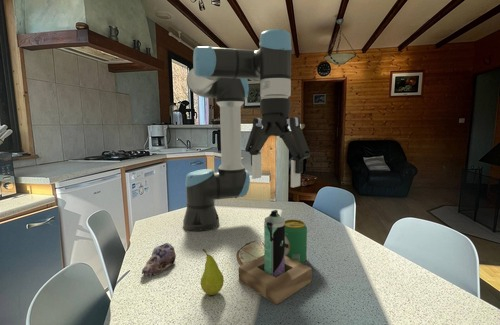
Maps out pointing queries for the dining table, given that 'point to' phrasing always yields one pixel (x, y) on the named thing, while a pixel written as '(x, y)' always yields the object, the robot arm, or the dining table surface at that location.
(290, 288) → the hole block
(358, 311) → the dining table surface
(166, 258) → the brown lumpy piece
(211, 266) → the fruit
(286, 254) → the beverage can
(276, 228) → the spray can
